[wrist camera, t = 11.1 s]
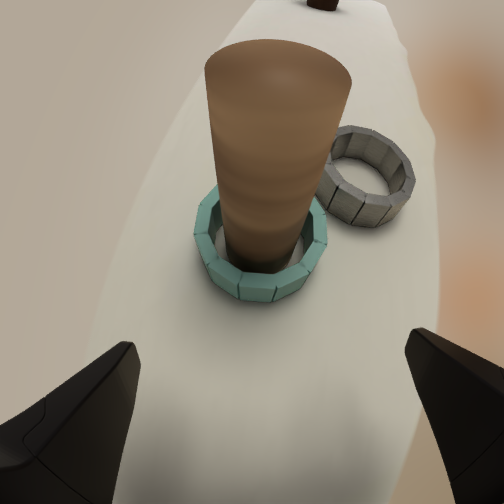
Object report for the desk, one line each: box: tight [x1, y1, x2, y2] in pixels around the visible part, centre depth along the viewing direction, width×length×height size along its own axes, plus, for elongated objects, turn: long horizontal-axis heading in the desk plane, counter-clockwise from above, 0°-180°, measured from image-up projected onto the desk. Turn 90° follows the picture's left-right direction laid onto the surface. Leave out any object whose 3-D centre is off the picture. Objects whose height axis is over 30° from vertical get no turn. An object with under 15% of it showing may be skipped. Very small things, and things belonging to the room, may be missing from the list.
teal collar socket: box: [194, 184, 327, 302], centre depth 18 cm, size 8×8×3 cm
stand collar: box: [315, 125, 416, 228], centre depth 20 cm, size 8×8×3 cm
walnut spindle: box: [205, 39, 352, 274], centre depth 13 cm, size 4×4×13 cm
